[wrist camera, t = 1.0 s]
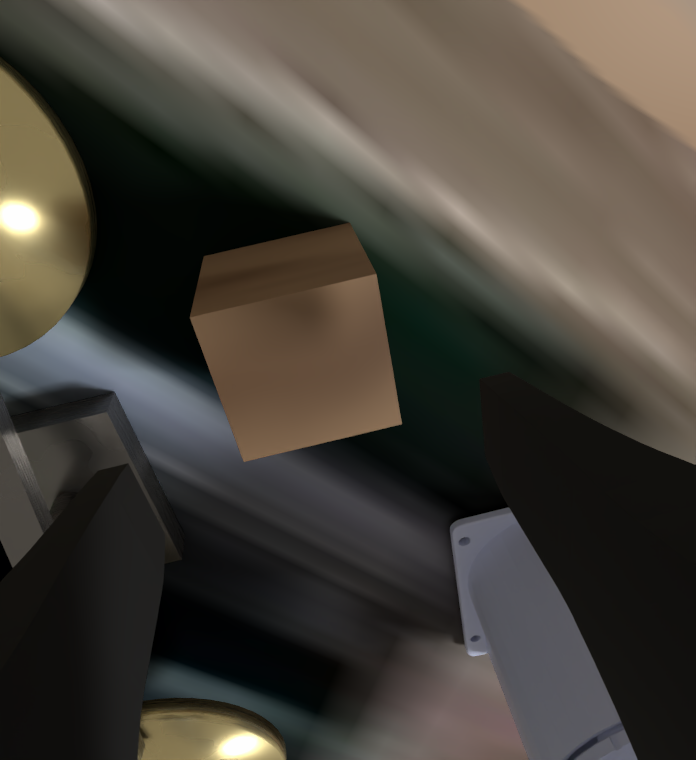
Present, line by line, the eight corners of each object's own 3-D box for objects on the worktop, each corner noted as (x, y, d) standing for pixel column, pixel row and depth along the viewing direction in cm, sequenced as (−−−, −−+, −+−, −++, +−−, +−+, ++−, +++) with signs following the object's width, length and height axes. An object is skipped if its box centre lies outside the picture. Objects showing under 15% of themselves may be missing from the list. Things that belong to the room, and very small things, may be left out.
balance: (300, 682, 29) (311, 837, 23) (125, 726, 29) (94, 893, 23) (-2, -43, 13) (-197, -106, 7) (-400, 43, 13) (-912, 46, 7)
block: (373, 349, 20) (401, 424, 16) (245, 379, 20) (243, 461, 16) (349, 222, 17) (376, 274, 13) (204, 255, 17) (189, 317, 13)
